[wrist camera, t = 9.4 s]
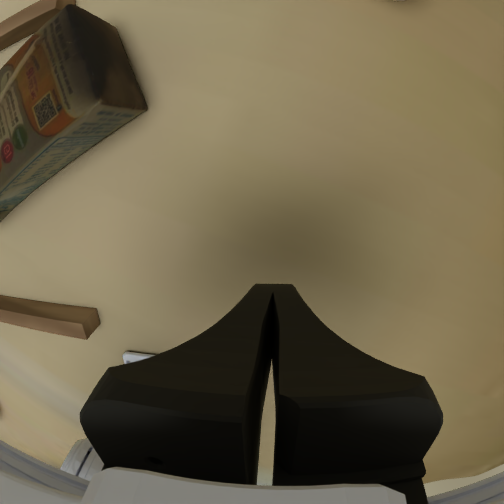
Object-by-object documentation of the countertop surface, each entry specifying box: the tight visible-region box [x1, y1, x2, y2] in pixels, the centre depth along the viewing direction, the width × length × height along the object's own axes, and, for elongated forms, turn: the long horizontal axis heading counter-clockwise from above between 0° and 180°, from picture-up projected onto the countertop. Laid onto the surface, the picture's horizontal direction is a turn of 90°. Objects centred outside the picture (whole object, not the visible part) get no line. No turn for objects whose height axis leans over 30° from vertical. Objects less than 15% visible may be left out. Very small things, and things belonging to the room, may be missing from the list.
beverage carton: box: [0, 4, 147, 221], centre depth 16 cm, size 8×19×7 cm, turn 114°
